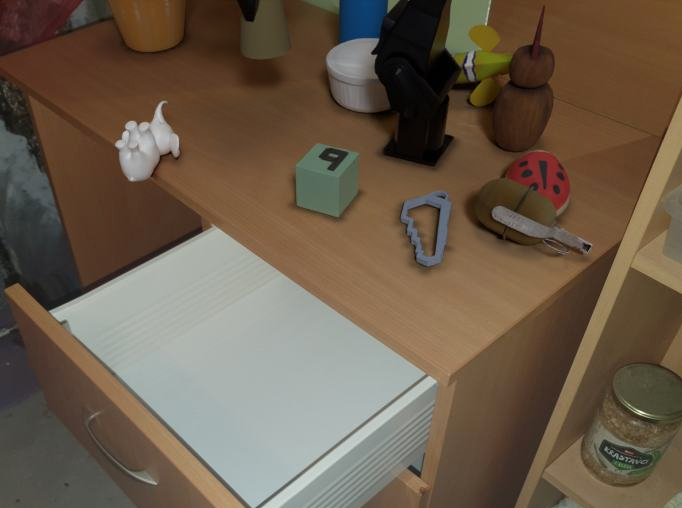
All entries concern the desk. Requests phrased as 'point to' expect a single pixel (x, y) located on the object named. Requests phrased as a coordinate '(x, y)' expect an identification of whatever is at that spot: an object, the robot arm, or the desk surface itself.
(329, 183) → the letter block
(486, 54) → the fish toy
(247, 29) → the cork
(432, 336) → the desk surface
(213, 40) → the desk surface
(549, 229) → the grenade
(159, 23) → the flower pot
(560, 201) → the ladybug figurine
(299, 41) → the desk surface
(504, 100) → the wooden figurine
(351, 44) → the ramekin
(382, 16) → the beverage can
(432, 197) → the key tool
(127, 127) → the elephant figurine
